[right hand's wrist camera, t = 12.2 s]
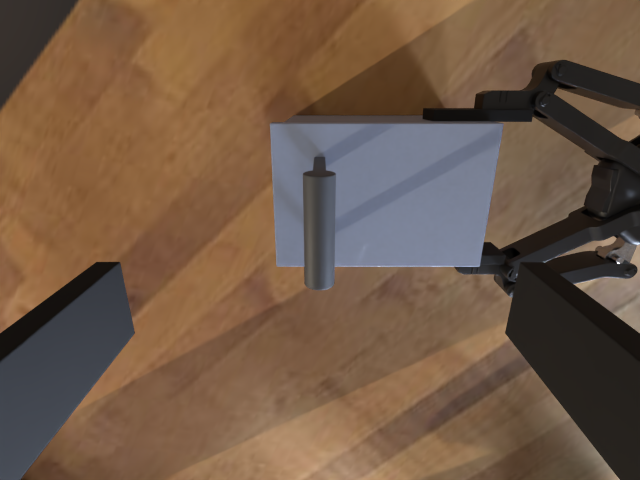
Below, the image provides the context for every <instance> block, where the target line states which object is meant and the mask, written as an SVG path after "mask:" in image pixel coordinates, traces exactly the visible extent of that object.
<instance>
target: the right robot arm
mask: <svg viewBox="0 0 640 480" xmlns="http://www.w3.org/2000/svg"><path fill="white" fill-rule="evenodd" d="M134 333H135V332H134V327H133V322H132V317H131V313H130V308H129V303H128V298H127V293H126V289H125V284H124V279H123V274H122V270H121V265H120V262H96V263H95V264H93V265H92V266H91V267H89V268H88V269H87V270H85V271H84V272H83V273H81V274H80V275H78V276H77V277H76V278H74V279H73V280H72V281H70V282H69V283H68V284H66V285H65V286H64V287H62V288H61V289H60V290H58V291H57V292H56V293H54V294H53V295H52V296H50V297H49V298H47V299H46V300H45V301H43V302H42V303H41V304H39V305H38V306H37V307H35V308H34V309H33V310H31V311H30V312H29V313H27V314H26V315H25V316H23V317H22V318H20V319H19V320H18V321H16V322H15V323H14V324H12V325H11V326H10V327H8V328H7V329H6V330H4V331H3V332H2V333H0V480H20V479H21V478H22V477H23V475H24V474H25V473H26V472H27V470H28V469H29V468H30V466H31V465H32V464H33V463H34V461H35V460H36V459H37V457H38V456H39V455H40V454H41V452H42V451H43V450H44V448H45V447H46V446H47V445H48V443H49V442H50V441H51V440H52V438H53V437H54V436H55V434H56V433H57V432H58V431H59V429H60V428H61V427H62V425H63V424H64V423H65V422H66V420H67V419H68V418H69V417H70V415H71V414H72V413H73V411H74V410H75V409H76V408H77V406H78V405H79V404H80V402H81V401H82V400H83V399H84V397H85V396H86V395H87V394H88V392H89V391H90V390H91V388H92V387H93V386H94V385H95V383H96V382H97V381H98V379H99V378H100V377H101V376H102V374H103V373H104V372H105V371H106V369H107V368H108V367H109V365H110V364H111V363H112V362H113V360H114V359H115V358H116V356H117V355H118V354H119V353H120V351H121V350H122V349H123V348H124V346H125V345H126V344H127V342H128V341H129V340H130V339H131V337H132V336H133V335H134ZM505 333H506V335H507V336H508V337H509V339H510V340H511V341H512V342H513V344H514V345H515V346H516V348H517V349H518V350H519V351H520V353H521V354H522V355H523V356H524V358H525V359H526V360H527V362H528V363H529V364H530V365H531V367H532V368H533V369H534V371H535V372H536V373H537V374H538V376H539V377H540V378H541V379H542V381H543V382H544V383H545V385H546V386H547V387H548V388H549V390H550V391H551V392H552V394H553V395H554V396H555V397H556V399H557V400H558V401H559V402H560V404H561V405H562V406H563V408H564V409H565V410H566V411H567V413H568V414H569V415H570V417H571V418H572V419H573V420H574V422H575V423H576V424H577V425H578V427H579V428H580V429H581V431H582V432H583V433H584V434H585V436H586V437H587V438H588V440H589V441H590V442H591V443H592V445H593V446H594V447H595V448H596V450H597V451H598V452H599V454H600V455H601V456H602V457H603V459H604V460H605V461H606V463H607V464H608V465H609V466H610V468H611V469H612V470H613V472H614V473H615V474H616V475H617V477H618V478H619V479H620V480H640V333H638V332H637V331H636V330H634V329H633V328H632V327H630V326H629V325H628V324H626V323H625V322H624V321H622V320H621V319H620V318H618V317H617V316H615V315H614V314H613V313H611V312H610V311H609V310H607V309H606V308H605V307H603V306H602V305H601V304H599V303H598V302H597V301H595V300H594V299H593V298H591V297H590V296H588V295H587V294H586V293H584V292H583V291H582V290H580V289H579V288H578V287H576V286H575V285H574V284H572V283H571V282H570V281H568V280H567V279H566V278H564V277H563V276H562V275H560V274H559V273H557V272H556V271H555V270H553V269H552V268H551V267H549V266H548V265H547V264H545V263H544V262H520V265H519V270H518V274H517V279H516V284H515V289H514V293H513V298H512V303H511V308H510V313H509V317H508V322H507V327H506V332H505Z"/></svg>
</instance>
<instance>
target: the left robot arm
mask: <svg viewBox="0 0 640 480" xmlns="http://www.w3.org/2000/svg"><path fill="white" fill-rule="evenodd" d="M557 88H559V89H562V90H565V91H568V92H571V93H575V94H578V95H581V96H584V97H588V98H591V99H594V100H597V101H600V102H604V103H607V104H610V105H613V106H617V107H621V108H626V109H636V110H635V115H637V116H638V117H639V119H640V84H639V83H636V82H633V81H630V80H627V79H623V78H620V77H617V76H614V75H611V74H608V73H605V72H601V71H598V70H595V69H592V68H589V67H586V66H583V65H579V64H576V63H573V62H570V61H567V60H558V61H552V62H545V63H540V64H537V65H536V66H535V67H534V69H533V70H532V79H531V81H530V83H529V84H528V86H527V87H526V88H524V89H523V90H520V91H482V92H480V93H477V94H476V98H475V105H474V108H423V119H425V120H430V121H491V122H532V117H535V118H536V119H538V120H539V121H541V122H542V123H544V124H545V125H547V126H549V127H550V128H552V129H553V130H555V131H556V132H558V133H559V134H561V135H562V136H564V137H565V138H567V139H568V140H570V141H572V142H573V143H575V144H576V145H578V146H579V147H581V148H582V149H584V150H585V152H586V153H587V154H589V155H590V156H592V157H593V158H595V159H596V160H598V161H599V162H600V163H599V164H598V165H594V168H593V171H592V185H591V188H590V189H589V191H588V193H587V195H586V198H585V202H584V205H585V206H584V207H582V208H579V209H577V210H575V211H573V212H571V213H570V214H569V217H568V218H566V219H564V220H562V221H559V222H557V223H555V224H553V225H551V226H549V227H547V228H544V229H542V230H540V231H538V232H536V233H534V234H532V235H529V236H527V237H525V238H523V239H521V240H519V241H517V242H514V243H512V244H510V245H508V246H506V247H504V248H502V249H498V248H497V247H495V246H494V245H493V244H492V243H491V242H484V243H483V249H482V255H481V261H480V266H479V267H455V269H456V270H457V271H458V272H459V273H462V274H495V276H494V281H495V282H496V283H497V284H498V285H499V286H500V287H501V288H502V289H503V290H504V291H505V292H506V293H507V294H508V295H509V296H510V297H513V293H514V289H515V284H516V279H517V274H518V270H519V265H520V262H544V263H545V264H547V265H548V266H549V267H551V268H552V269H553V270H555V271H556V272H557V273H559V274H560V275H562V276H563V277H564V278H566V279H567V280H568V281H570V282H571V283H572V284H576V283H581V282H585V281H590V280H594V279H598V278H603V277H613V278H625V279H627V278H631V277H633V276H634V275H635V274H636V273H637V267H636V266H635V265H634V264H632V263H630V261H631V258H632V256H633V254H634V251H635V249H636V246H637V245H639V244H640V135H639V136H637V137H635V138H634V139H632V140H631V141H629V142H628V141H625V140H622V139H620V138H619V137H617V136H616V135H614V134H613V133H611V132H610V131H608V130H607V129H605V128H604V127H602V126H601V125H599V124H598V123H596V122H595V121H593V120H592V119H590V118H589V117H587V116H586V115H585V114H583V113H582V112H580V111H579V110H577V109H576V108H574V107H573V106H571V105H570V104H568V103H567V102H565V101H564V100H562V99H561V98H559V97H558V96H556V95H555V94H554V93H555V91H556V89H557ZM612 236H615V237H616V238H617V239H616V241H615V242H614V243H613V244H611V245H608V246H604V247H602V246H598V247H597V248H596V249H595V251H584V252H579V253H574V254H570V255H566V256H562V257H557V256H560V255H562V254H564V253H566V252H569V251H571V250H573V249H575V248H577V247H580V246H582V245H584V244H586V243H589V242H591V241H601V240H605V239H608V238H610V237H612ZM555 257H557V258H555Z"/></svg>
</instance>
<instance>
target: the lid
mask: <svg viewBox="0 0 640 480" xmlns="http://www.w3.org/2000/svg"><path fill="white" fill-rule="evenodd" d="M502 130H503V123H498V122H272V123H270V134H271V156H272V178H273V200H274V222H275V244H276V265H277V266H304V277H305V285H306V286H307V287H308V288H310V289H313V290H326V289H329V288H331V287H332V286H333V285H334V272H335V266H363V267H479V266H480V261H481V255H482V249H483V243H484V237H485V231H486V225H487V219H488V213H489V207H490V201H491V195H492V189H493V183H494V177H495V171H496V165H497V159H498V154H499V148H500V142H501V136H502Z"/></svg>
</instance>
